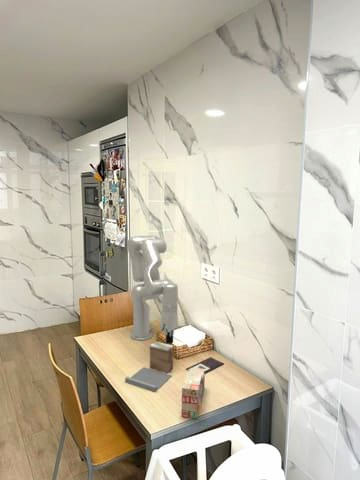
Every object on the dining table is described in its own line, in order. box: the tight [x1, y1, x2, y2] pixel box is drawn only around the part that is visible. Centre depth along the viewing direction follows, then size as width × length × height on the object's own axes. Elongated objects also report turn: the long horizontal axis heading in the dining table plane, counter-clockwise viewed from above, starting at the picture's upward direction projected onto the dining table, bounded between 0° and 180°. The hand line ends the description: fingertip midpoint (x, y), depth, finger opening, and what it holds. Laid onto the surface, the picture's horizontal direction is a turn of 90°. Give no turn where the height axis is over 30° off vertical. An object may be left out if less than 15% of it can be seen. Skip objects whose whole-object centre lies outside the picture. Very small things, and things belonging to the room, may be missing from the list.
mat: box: [124, 366, 173, 393], centre depth 159 cm, size 15×16×2 cm
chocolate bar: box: [185, 357, 225, 375], centre depth 171 cm, size 9×1×18 cm
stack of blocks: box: [181, 368, 206, 420], centre depth 141 cm, size 21×6×12 cm, turn 169°
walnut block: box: [149, 340, 174, 374], centre depth 167 cm, size 5×10×12 cm, turn 62°
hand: (169, 342), depth 174 cm, fingers closed
